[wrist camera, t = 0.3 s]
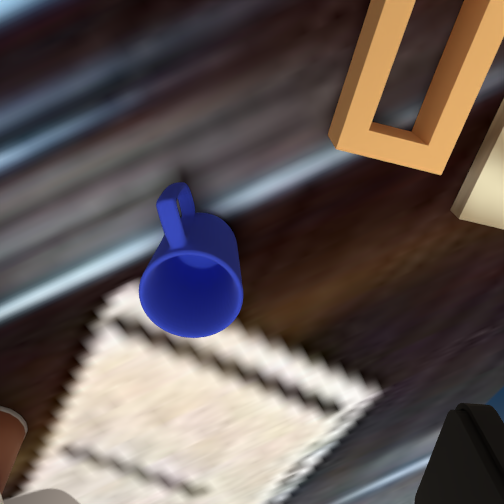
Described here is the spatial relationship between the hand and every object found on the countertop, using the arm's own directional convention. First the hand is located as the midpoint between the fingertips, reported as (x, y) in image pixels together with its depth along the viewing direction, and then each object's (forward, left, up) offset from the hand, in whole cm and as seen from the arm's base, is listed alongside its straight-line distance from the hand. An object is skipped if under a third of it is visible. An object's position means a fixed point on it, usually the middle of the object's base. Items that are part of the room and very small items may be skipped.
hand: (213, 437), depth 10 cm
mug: (+12, -1, -35) cm, 37 cm away
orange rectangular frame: (-7, +12, -35) cm, 38 cm away
